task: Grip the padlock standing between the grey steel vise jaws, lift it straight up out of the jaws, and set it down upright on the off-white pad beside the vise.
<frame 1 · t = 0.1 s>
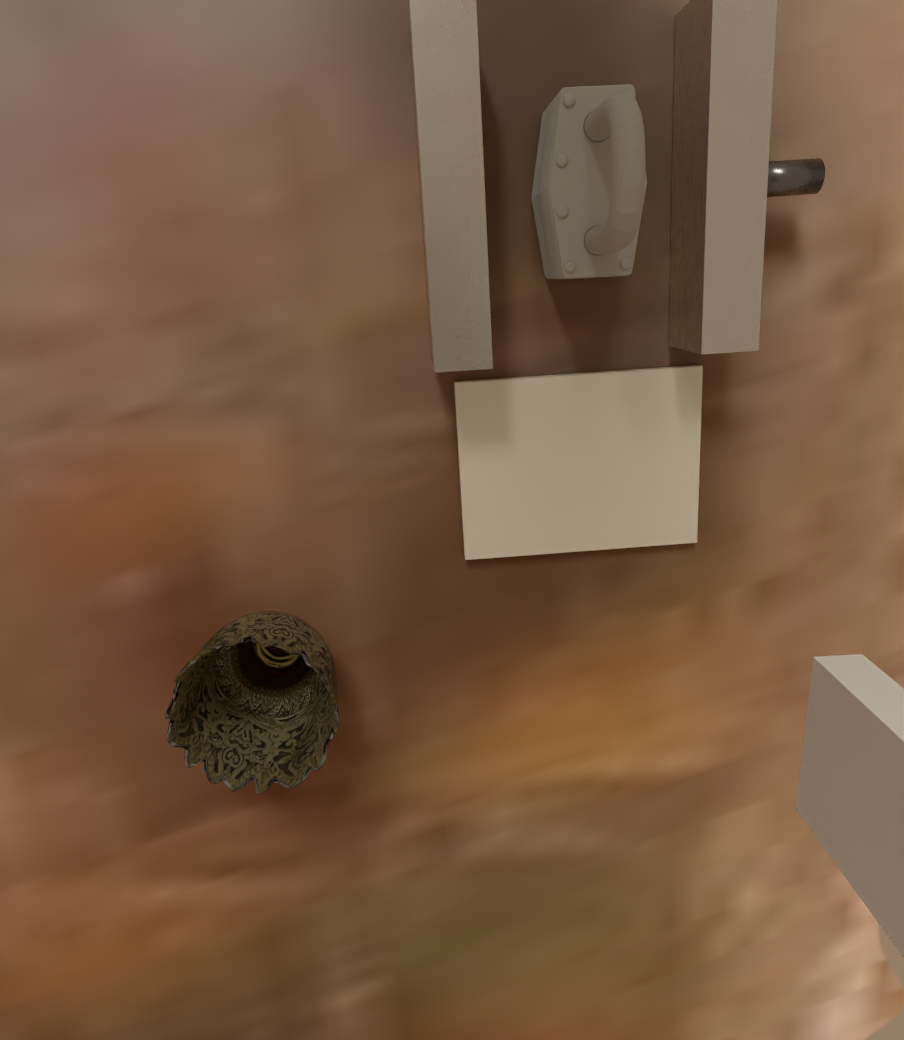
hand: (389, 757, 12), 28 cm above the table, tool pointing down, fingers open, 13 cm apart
vise: (574, 196, 36), on the table
padlock: (573, 197, 36), on the table
cup: (281, 639, 42), on the table
pad: (578, 463, 40), on the table
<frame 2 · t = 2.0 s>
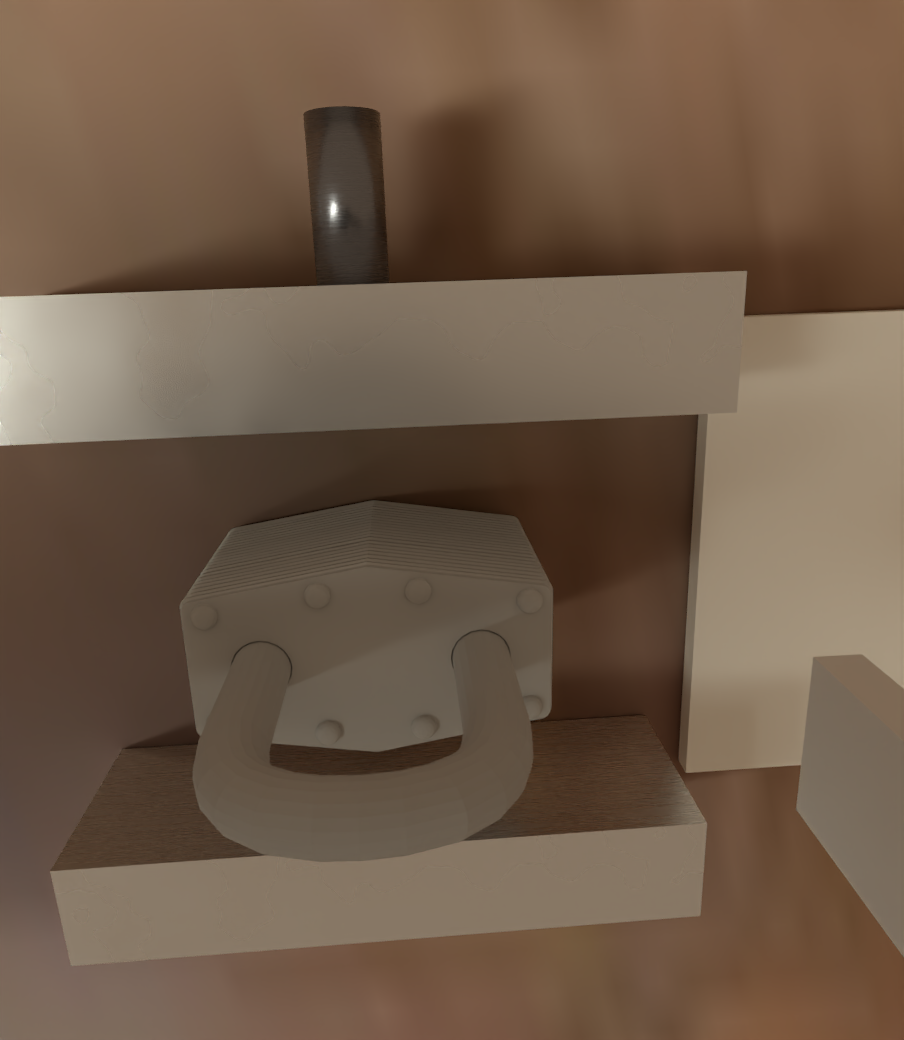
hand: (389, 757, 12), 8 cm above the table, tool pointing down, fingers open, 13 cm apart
vise: (378, 574, 20), on the table
padlock: (378, 570, 20), on the table
pad: (859, 548, 20), on the table
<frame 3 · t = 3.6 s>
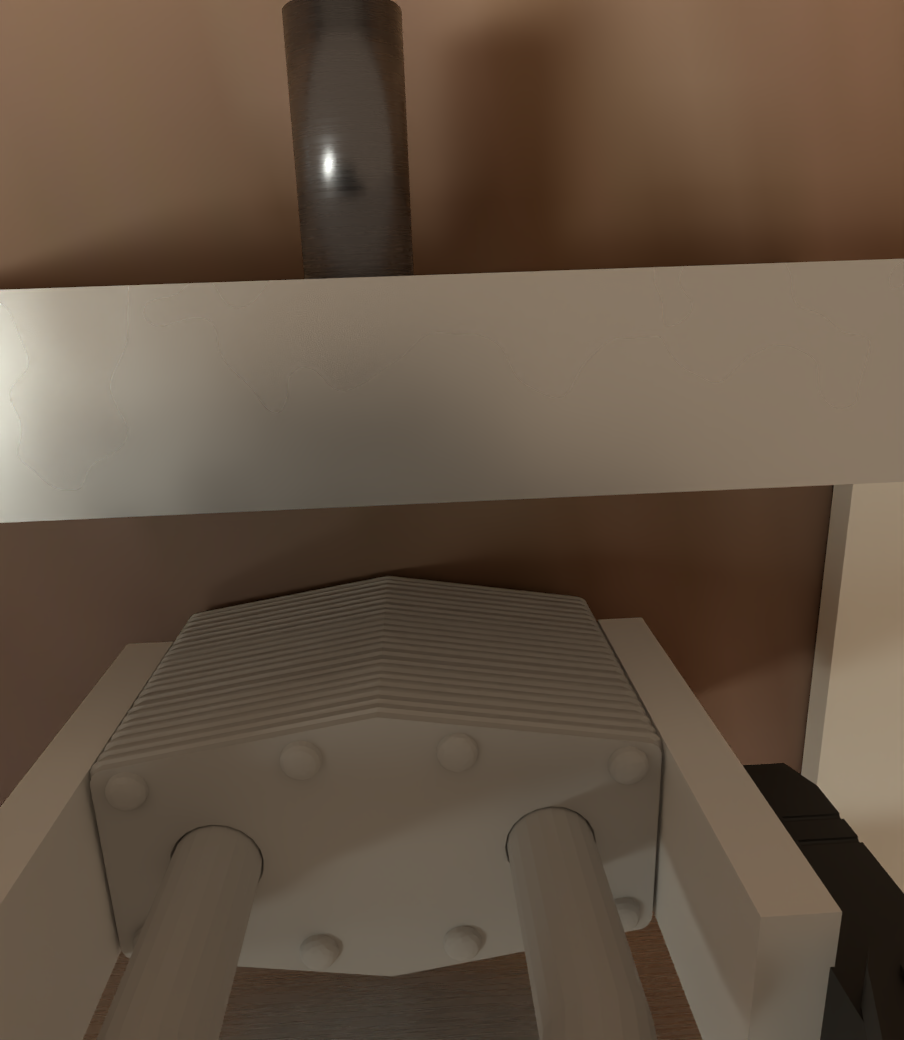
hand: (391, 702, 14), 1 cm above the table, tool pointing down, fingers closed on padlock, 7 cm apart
vise: (393, 672, 15), on the table
padlock: (393, 666, 15), on the table, touching gripper
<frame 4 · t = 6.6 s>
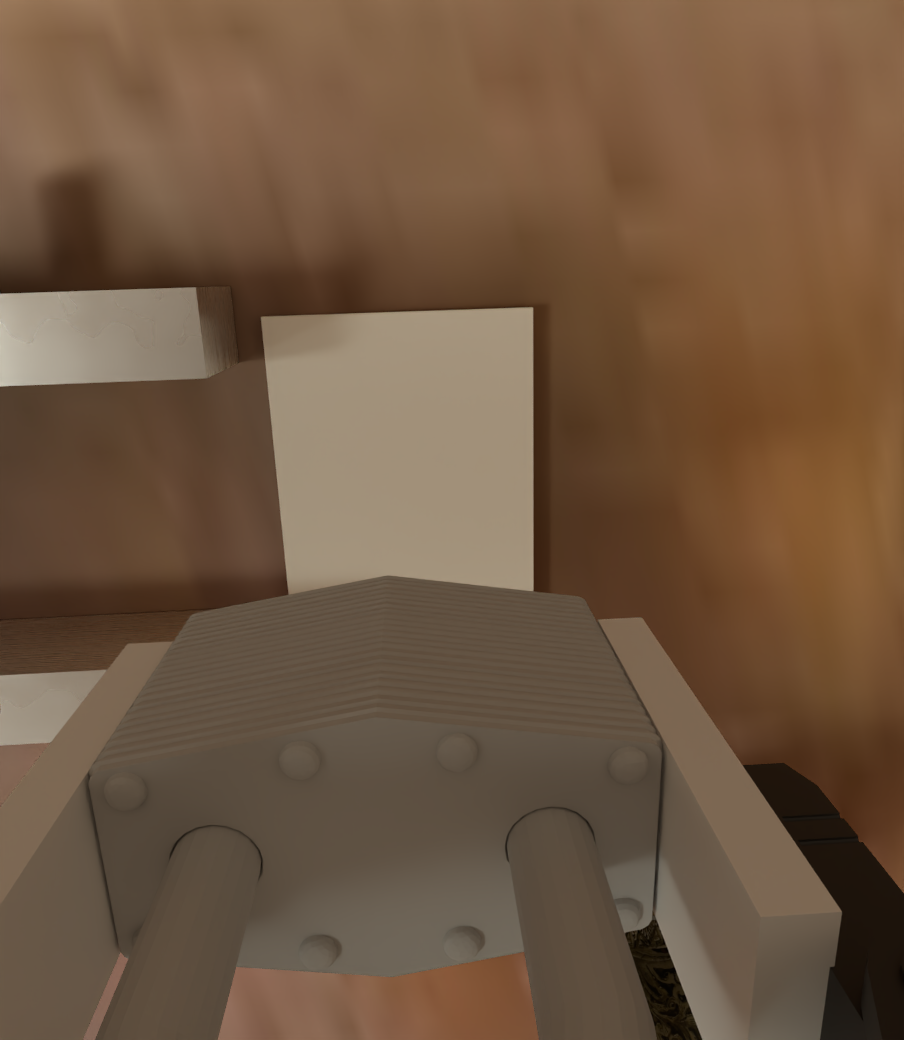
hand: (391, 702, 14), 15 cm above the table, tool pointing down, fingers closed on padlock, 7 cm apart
vise: (53, 499, 28), on the table
padlock: (393, 666, 15), point 14 cm above the table, touching gripper
cup: (623, 836, 34), on the table
pad: (406, 483, 28), on the table
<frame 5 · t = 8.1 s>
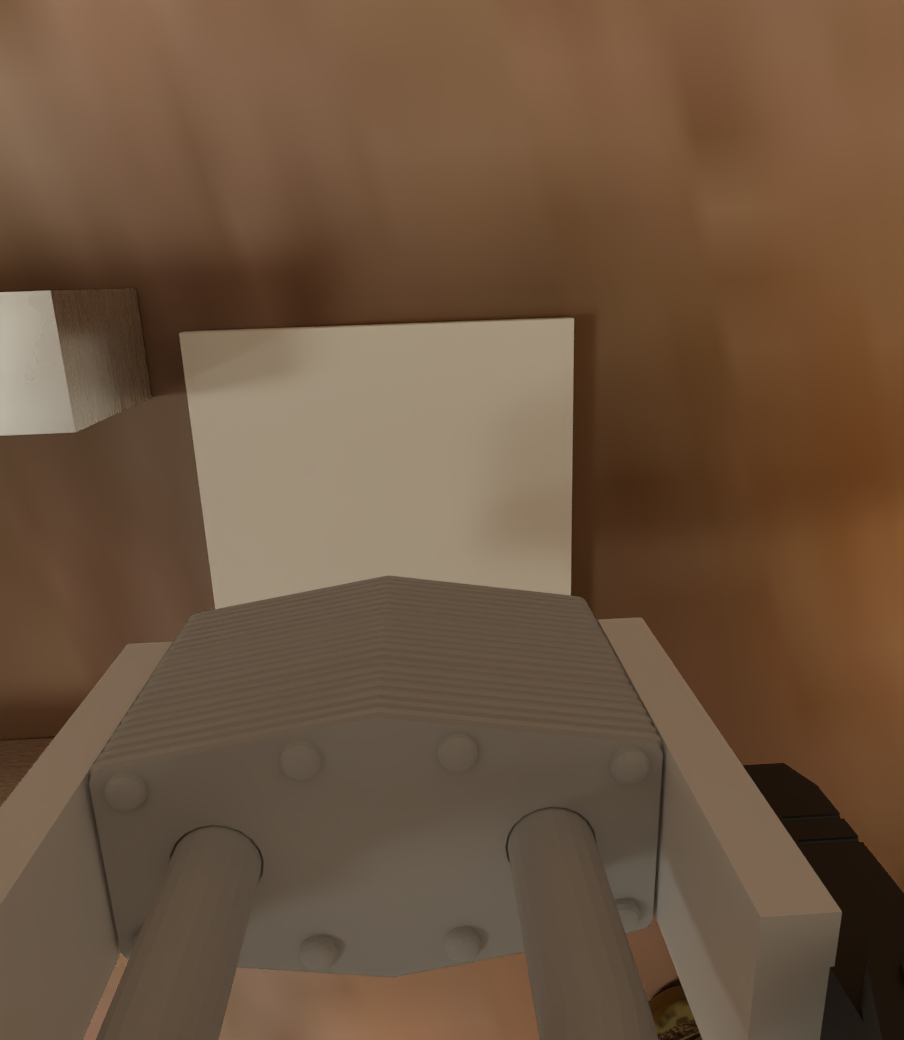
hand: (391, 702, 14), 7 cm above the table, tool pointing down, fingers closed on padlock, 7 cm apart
padlock: (393, 666, 15), point 6 cm above the table, touching gripper
cup: (682, 1010, 25), on the table
pad: (393, 563, 20), on the table
when the fingers open (4 cm above the table, at t = 9.5 s): padlock drops 2 cm, resting on pad.
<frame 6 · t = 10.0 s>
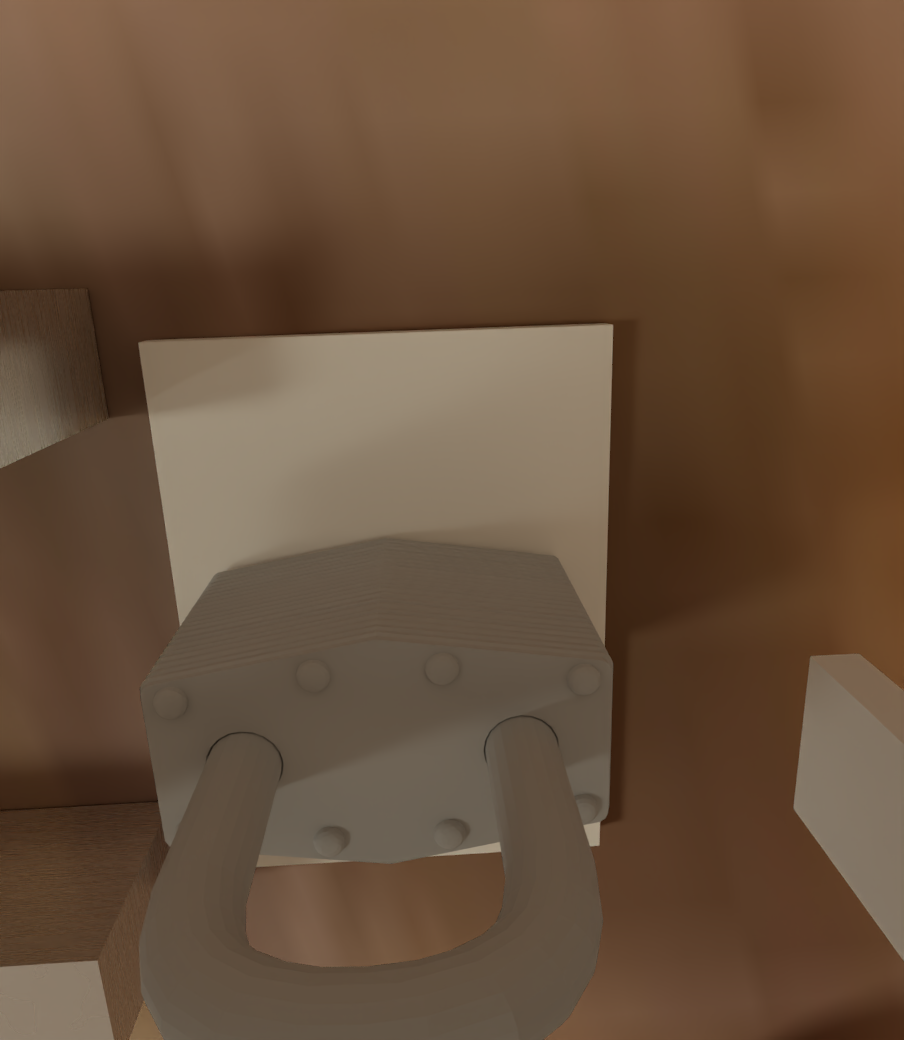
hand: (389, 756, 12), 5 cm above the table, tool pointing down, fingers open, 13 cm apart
padlock: (391, 619, 17), resting on pad
pad: (396, 611, 17), on the table
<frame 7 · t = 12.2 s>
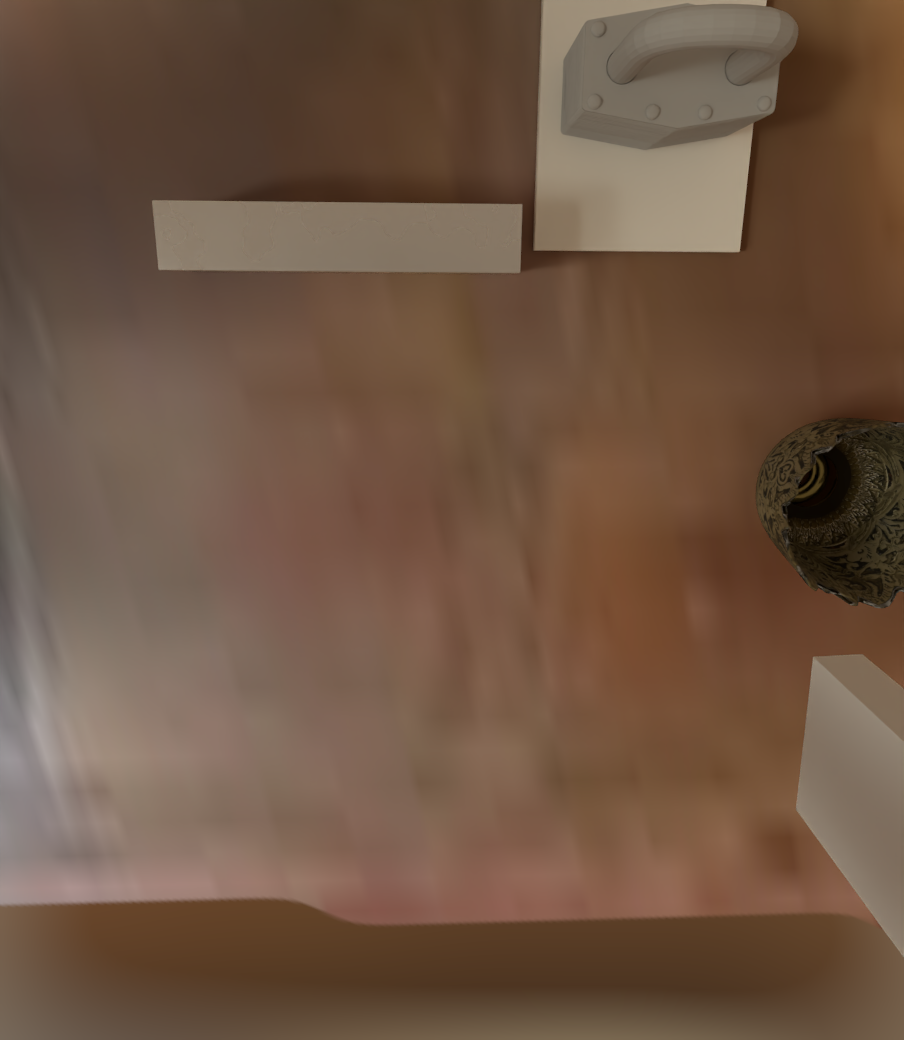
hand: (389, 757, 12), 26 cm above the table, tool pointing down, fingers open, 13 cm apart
vise: (347, 97, 33), on the table
padlock: (645, 99, 33), resting on pad
cup: (791, 470, 38), on the table
pad: (644, 101, 33), on the table
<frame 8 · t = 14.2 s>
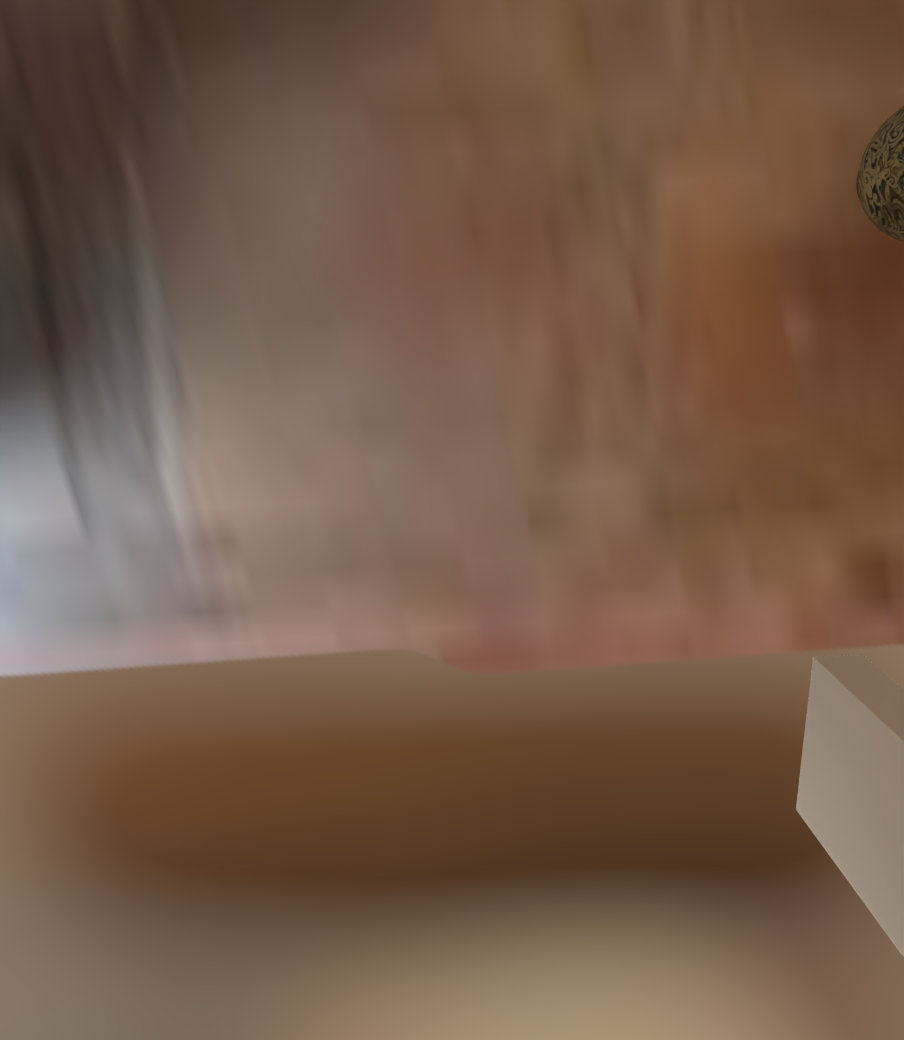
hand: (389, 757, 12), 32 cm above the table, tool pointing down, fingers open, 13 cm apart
cup: (882, 180, 40), on the table
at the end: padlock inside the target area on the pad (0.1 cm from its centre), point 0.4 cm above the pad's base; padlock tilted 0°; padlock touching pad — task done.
